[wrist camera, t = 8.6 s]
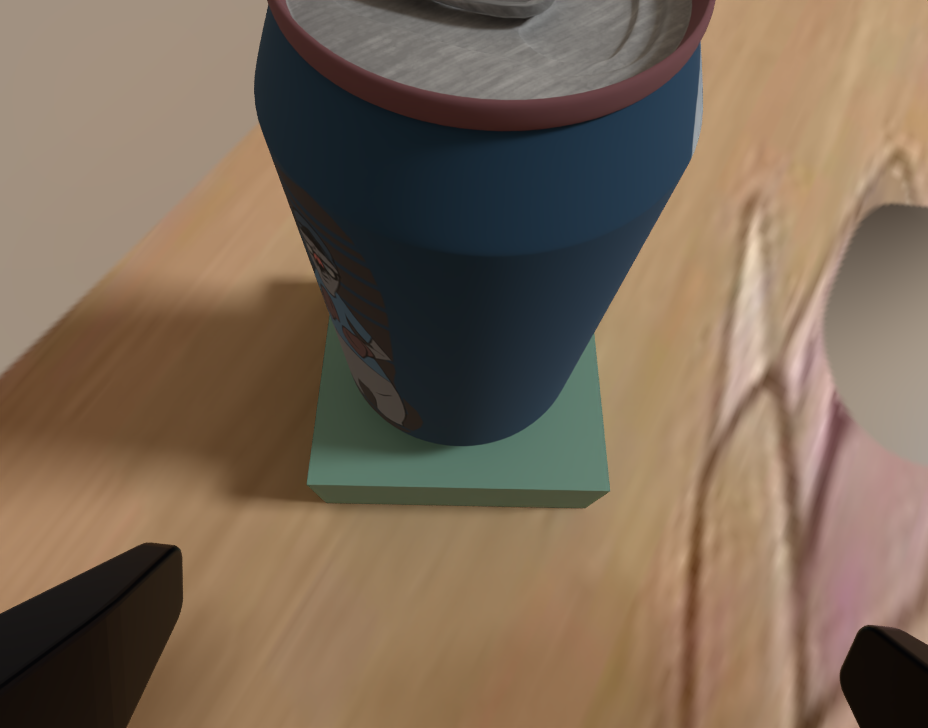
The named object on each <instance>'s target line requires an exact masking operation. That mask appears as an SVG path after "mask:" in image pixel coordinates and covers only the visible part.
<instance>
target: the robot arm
mask: <svg viewBox="0 0 928 728" xmlns="http://www.w3.org/2000/svg"><path fill="white" fill-rule="evenodd" d="M182 603H183V569H182V553H181V550H180V549H179V548H178V547H177V546H175V545H168V544H159V543H143V544H141V545H138V546H136V547H134V548H132V549H130V550H128V551H126V552H124V553H122V554H120V555H118V556H116V557H114V558H112V559H110V560H108V561H106V562H104V563H102V564H100V565H98V566H96V567H94V568H92V569H90V570H88V571H86V572H84V573H82V574H80V575H78V576H76V577H74V578H72V579H70V580H67V581H65V582H63V583H61V584H59V585H57V586H55V587H53V588H51V589H49V590H47V591H45V592H43V593H41V594H39V595H37V596H35V597H33V598H31V599H29V600H27V601H25V602H23V603H21V604H19V605H17V606H15V607H13V608H11V609H9V610H7V611H5V612H3V613H1V614H0V728H126V727H127V725H128V723H129V721H130V719H131V717H132V715H133V713H134V711H135V709H136V706H137V704H138V702H139V700H140V698H141V696H142V694H143V692H144V690H145V687H146V685H147V683H148V681H149V679H150V677H151V675H152V673H153V671H154V669H155V666H156V664H157V662H158V660H159V658H160V656H161V654H162V652H163V650H164V648H165V645H166V643H167V641H168V639H169V637H170V635H171V633H172V631H173V629H174V626H175V624H176V622H177V620H178V618H179V615H180V612H181V608H182ZM840 684H841V688H842V691H843V693H844V696H845V698H846V700H847V702H848V704H849V706H850V708H851V710H852V712H853V714H854V717H855V719H856V721H857V723H858V725H859V727H860V728H928V645H927V644H925V643H923V642H922V641H920V640H918V639H917V638H915V637H913V636H911V635H910V634H908V633H906V632H904V631H902V630H900V629H897V628H893V627H885V626H876V625H867V626H864V627H862V628H861V629H860V630H859V631H858V633H857V635H856V637H855V639H854V641H853V643H852V645H851V648H850V650H849V652H848V654H847V656H846V659H845V661H844V663H843V665H842V667H841V670H840Z"/></svg>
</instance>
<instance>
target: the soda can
mask: <svg viewBox="0 0 928 728" xmlns="http://www.w3.org/2000/svg"><path fill="white" fill-rule="evenodd" d="M267 1H268V9H267V13H266V18H265V23H264V27H263V32H262V37H261V42H260V47H259V52H258V57H257V64H256V70H255V81H254V94H255V105H256V111H257V116H258V120H259V123H260V126H261V129H262V132H263V135H264V138H265V140H266V143H267V146H268V148H269V151H270V154H271V157H272V159H273V162H274V165H275V167H276V170H277V173H278V176H279V178H280V181H281V184H282V187H283V189H284V192H285V195H286V197H287V200H288V203H289V206H290V208H291V211H292V214H293V216H294V219H295V222H296V225H297V227H298V230H299V233H300V235H301V238H302V241H303V244H304V246H305V249H306V252H307V254H308V257H309V260H310V263H311V265H312V268H313V271H314V273H315V276H316V279H317V282H318V284H319V287H320V290H321V292H322V295H323V298H324V301H325V303H326V306H327V309H328V311H329V314H330V317H331V320H332V322H333V325H334V328H335V331H336V333H337V336H338V339H339V341H340V344H341V347H342V350H343V352H344V355H345V358H346V360H347V363H348V366H349V369H350V371H351V374H352V377H353V379H354V381H355V383H356V385H357V387H358V389H359V391H360V393H361V394H362V396H363V397H364V399H365V400H366V401H367V402H368V404H369V405H370V406H371V407H372V408H373V409H374V410H375V411H376V412H377V413H378V414H379V415H380V416H381V417H382V418H383V419H384V420H386V421H387V422H388V423H390V424H391V425H392V426H394V427H396V428H397V429H399V430H401V431H402V432H404V433H406V434H408V435H411V436H413V437H415V438H418V439H421V440H424V441H427V442H431V443H435V444H440V445H447V446H476V445H483V444H488V443H492V442H496V441H499V440H502V439H505V438H508V437H510V436H512V435H514V434H516V433H518V432H520V431H522V430H524V429H525V428H527V427H528V426H530V425H531V424H533V423H534V422H535V421H536V420H538V419H539V418H540V417H541V416H542V415H543V414H544V413H545V412H546V411H547V410H548V409H549V408H550V407H551V406H552V404H553V403H554V402H555V400H556V399H557V398H558V396H559V394H560V393H561V391H562V389H563V387H564V386H565V384H566V382H567V380H568V379H569V377H570V375H571V373H572V371H573V370H574V368H575V366H576V364H577V362H578V361H579V359H580V357H581V355H582V353H583V352H584V350H585V348H586V346H587V345H588V343H589V341H590V339H591V337H592V336H593V334H594V332H595V330H596V328H597V327H598V325H599V323H600V321H601V320H602V318H603V316H604V314H605V312H606V311H607V309H608V307H609V305H610V303H611V302H612V300H613V298H614V296H615V294H616V293H617V291H618V289H619V287H620V286H621V284H622V282H623V280H624V278H625V277H626V275H627V273H628V271H629V269H630V268H631V266H632V264H633V262H634V261H635V259H636V257H637V255H638V253H639V252H640V250H641V248H642V246H643V244H644V243H645V241H646V239H647V237H648V236H649V234H650V232H651V230H652V228H653V227H654V225H655V223H656V221H657V219H658V218H659V216H660V214H661V212H662V210H663V209H664V207H665V205H666V203H667V202H668V200H669V198H670V196H671V194H672V193H673V191H674V189H675V187H676V185H677V184H678V182H679V180H680V178H681V177H682V175H683V173H684V171H685V169H686V168H687V166H688V164H689V162H690V160H691V158H692V156H693V153H694V151H695V148H696V145H697V142H698V139H699V135H700V130H701V125H702V114H703V84H702V60H701V39H702V37H703V35H704V34H705V32H706V29H707V27H708V24H709V22H710V19H711V16H712V13H713V9H714V5H715V0H267Z"/></svg>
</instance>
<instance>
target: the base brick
mask: <svg viewBox="0 0 928 728" xmlns="http://www.w3.org/2000/svg"><path fill="white" fill-rule="evenodd" d="M307 485H308V486H309V487H310V488H311V489H312V490H313V491H314V492H315V493H316V494H317V495H318V496H319V497H320V498H321V499H323V500H324V501H325V502H326V503H354V504H403V505H453V506H502V507H551V508H586V507H588V506H589V505H591V504H592V503H593V502H595V501H596V500H598V499H599V498H601V497H602V496H604V495H605V494H607V493H608V492H610V484H609V475H608V465H607V455H606V445H605V435H604V425H603V415H602V406H601V396H600V386H599V376H598V366H597V356H596V346H595V336H594V334H593V336H592V337H591V339H590V341H589V343H588V345H587V346H586V348H585V350H584V352H583V353H582V355H581V357H580V359H579V361H578V362H577V364H576V366H575V368H574V370H573V371H572V373H571V375H570V377H569V379H568V380H567V382H566V384H565V386H564V387H563V389H562V391H561V393H560V394H559V396H558V398H557V399H556V400H555V402H554V403H553V404H552V406H551V407H550V408H549V409H548V410H547V411H546V412H545V413H544V414H543V415H542V416H541V417H540V418H539V419H538V420H536V421H535V422H534V423H533V424H531V425H530V426H528V427H527V428H525V429H524V430H522V431H520V432H518V433H516V434H514V435H512V436H510V437H508V438H505V439H502V440H499V441H496V442H492V443H488V444H483V445H476V446H447V445H440V444H435V443H431V442H427V441H424V440H421V439H418V438H415V437H413V436H411V435H408V434H406V433H404V432H402V431H401V430H399V429H397V428H396V427H394V426H392V425H391V424H390V423H388V422H387V421H386V420H384V419H383V418H382V417H381V416H380V415H379V414H378V413H377V412H376V411H375V410H374V409H373V408H372V407H371V406H370V405H369V404H368V402H367V401H366V400H365V399H364V397H363V396H362V394H361V393H360V391H359V389H358V387H357V385H356V383H355V381H354V379H353V377H352V374H351V371H350V369H349V366H348V363H347V360H346V358H345V355H344V352H343V350H342V347H341V344H340V341H339V339H338V336H337V333H336V331H335V328H334V325H333V322H332V320H331V317H330V316H329V323H328V330H327V338H326V345H325V353H324V360H323V367H322V375H321V382H320V390H319V397H318V404H317V412H316V419H315V426H314V434H313V441H312V449H311V456H310V463H309V471H308V478H307Z"/></svg>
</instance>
